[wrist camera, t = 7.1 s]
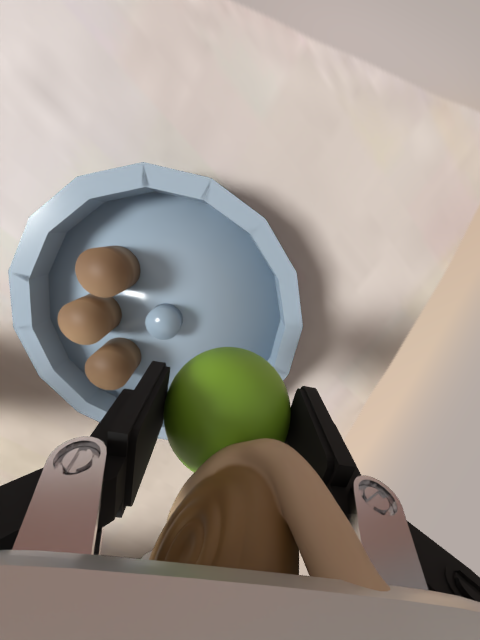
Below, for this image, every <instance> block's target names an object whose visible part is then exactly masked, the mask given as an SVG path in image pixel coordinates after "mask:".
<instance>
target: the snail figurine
mask: <svg viewBox="0 0 480 640" xmlns="http://www.w3.org/2000/svg"><path fill="white" fill-rule="evenodd" d="M290 417H291V409H290V401H289V396H288V392H287V389H286V387H285V384H284V382H283V380H282V378H281V377H280V375H279V374H278V372H277V371H276V370H275V369H274V367H273V366H272V365H271V364H270V363H269V362H268V361H266V360H265V359H264V358H262V357H261V356H259V355H258V354H256V353H254V352H251V351H249V350H246V349H242V348H237V347H219V348H214V349H210V350H207V351H205V352H203V353H201V354H199V355H197V356H195V357H194V358H192V359H191V360H190V361H188V362H187V363H186V364H185V365H184V366H183V367H182V368H181V369H180V371H179V372H178V373H177V374H176V376H175V378H174V379H173V381H172V383H171V385H170V387H169V389H168V392H167V396H166V399H165V405H164V426H165V431H166V435H167V438H168V441H169V443H170V446H171V448H172V449H173V451H174V453H175V454H176V456H177V457H178V458H179V460H180V461H181V462H182V463H183V464H184V465H185V466H186V467H187V468H189V469H190V470H191V471H193V472H194V474H193V475H192V476H191V477H190V478H189V479H188V480H187V482H186V483H185V484H184V486H183V487H182V489H181V490H180V492H179V494H178V496H177V498H176V499H175V501H174V503H173V506H172V508H171V510H170V513H169V515H168V519H167V523H166V525H165V527H164V528H163V530H162V532H161V534H160V536H159V538H158V540H157V542H156V544H155V546H154V548H153V551H152V553H151V555H150V558H149V560H155V561H166V562H176V563H186V564H197V565H206V566H216V567H226V568H236V569H246V570H255V571H265V572H274V573H284V574H294V575H299V551H300V553H301V556H302V558H303V561H304V563H305V566H306V568H307V571H308V573H309V575H310V576H312V577H321V578H330V579H339V580H343V581H346V582H349V583H352V584H355V585H358V586H361V587H365V588H369V589H373V590H377V591H389V590H391V589H390V587H389V586H388V585H387V583H386V582H385V581H384V580H383V579H382V577H381V576H380V575H379V573H378V572H377V571H376V569H375V567H374V566H373V564H372V563H371V561H370V559H369V557H368V555H367V553H366V552H365V550H364V548H363V546H362V544H361V542H360V540H359V538H358V536H357V534H356V533H355V531H354V529H353V527H352V526H351V524H350V522H349V521H348V519H347V517H346V516H345V514H344V513H343V511H342V510H341V508H340V507H339V505H338V504H337V502H336V501H335V499H334V497H333V496H332V494H331V493H330V491H329V490H328V488H327V487H326V485H325V484H324V482H323V481H322V479H321V478H320V476H319V475H318V474H317V473H316V471H315V470H314V469H313V468H312V466H311V465H310V464H309V463H308V462H307V461H306V460H305V459H304V458H303V457H302V456H301V455H300V454H299V453H298V452H297V451H296V450H294V449H293V448H292V447H290V446H289V445H287V444H285V443H284V442H285V440H286V437H287V434H288V430H289V426H290Z"/></svg>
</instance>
